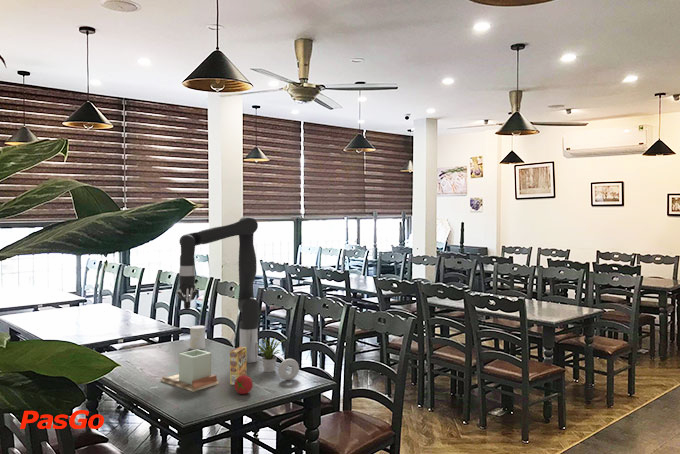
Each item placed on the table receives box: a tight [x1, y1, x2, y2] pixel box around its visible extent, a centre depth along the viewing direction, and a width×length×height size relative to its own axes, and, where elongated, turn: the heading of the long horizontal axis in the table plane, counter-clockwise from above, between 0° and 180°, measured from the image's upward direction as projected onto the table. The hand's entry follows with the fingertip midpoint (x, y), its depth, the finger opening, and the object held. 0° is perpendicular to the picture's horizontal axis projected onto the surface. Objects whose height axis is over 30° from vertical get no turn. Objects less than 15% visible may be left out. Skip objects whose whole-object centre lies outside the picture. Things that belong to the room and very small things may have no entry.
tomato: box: [234, 375, 254, 395], centre depth 232 cm, size 8×8×8 cm
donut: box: [277, 358, 300, 381], centre depth 252 cm, size 10×3×10 cm, turn 116°
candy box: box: [229, 346, 248, 386], centre depth 248 cm, size 9×4×15 cm, turn 162°
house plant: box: [257, 337, 286, 373], centre depth 268 cm, size 14×14×16 cm
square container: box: [178, 349, 212, 385], centre depth 245 cm, size 10×10×13 cm
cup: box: [189, 325, 206, 350], centre depth 310 cm, size 8×8×12 cm
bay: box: [160, 373, 220, 393], centre depth 247 cm, size 24×14×4 cm, turn 52°
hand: (187, 309), depth 272 cm, fingers closed
